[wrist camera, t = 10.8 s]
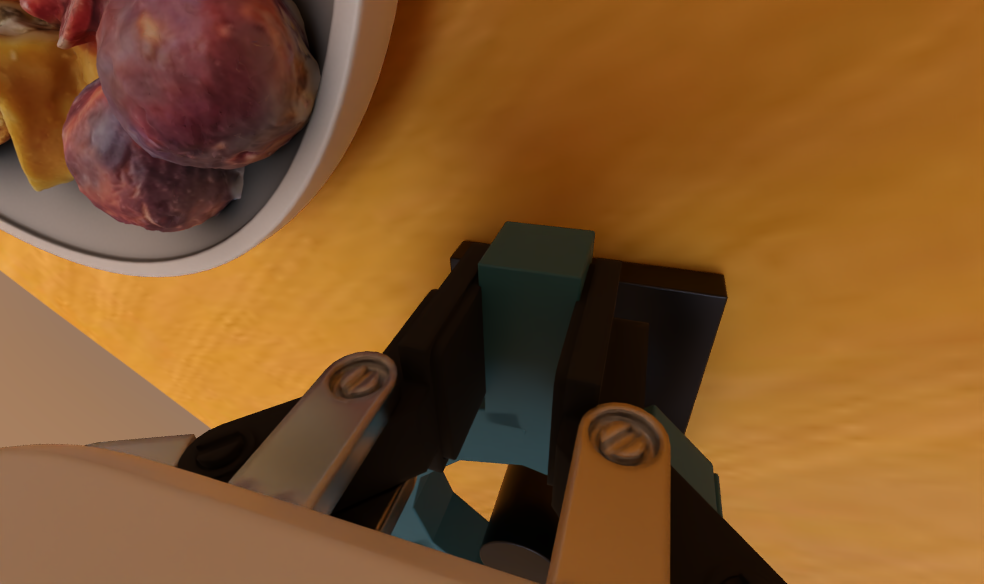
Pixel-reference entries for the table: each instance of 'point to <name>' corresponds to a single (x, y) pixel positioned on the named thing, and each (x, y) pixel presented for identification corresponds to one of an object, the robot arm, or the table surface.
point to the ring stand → (669, 385)
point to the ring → (523, 382)
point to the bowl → (176, 122)
